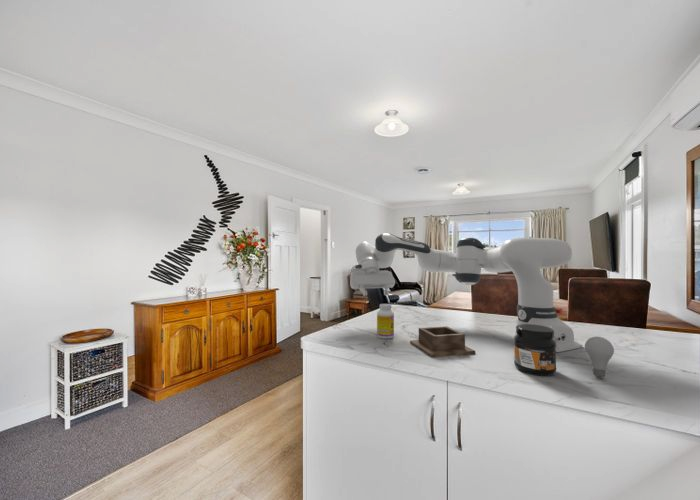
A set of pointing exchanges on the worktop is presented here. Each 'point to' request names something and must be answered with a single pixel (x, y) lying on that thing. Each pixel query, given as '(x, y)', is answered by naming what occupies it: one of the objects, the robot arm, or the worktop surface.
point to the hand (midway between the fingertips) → (376, 294)
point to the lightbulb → (599, 354)
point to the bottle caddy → (441, 342)
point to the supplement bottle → (385, 322)
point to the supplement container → (535, 349)
